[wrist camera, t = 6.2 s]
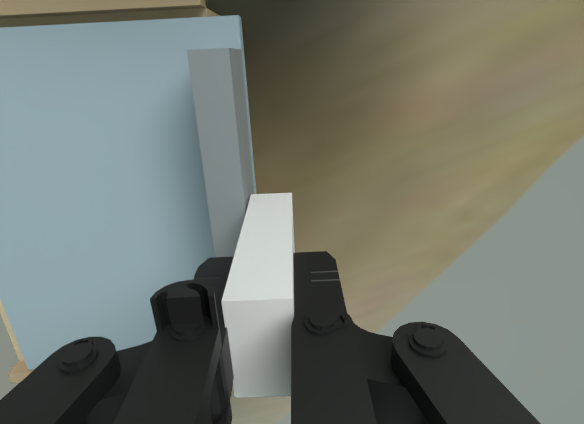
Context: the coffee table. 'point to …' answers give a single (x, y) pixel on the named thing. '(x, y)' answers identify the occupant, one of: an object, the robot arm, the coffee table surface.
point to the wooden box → (86, 9)
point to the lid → (116, 171)
